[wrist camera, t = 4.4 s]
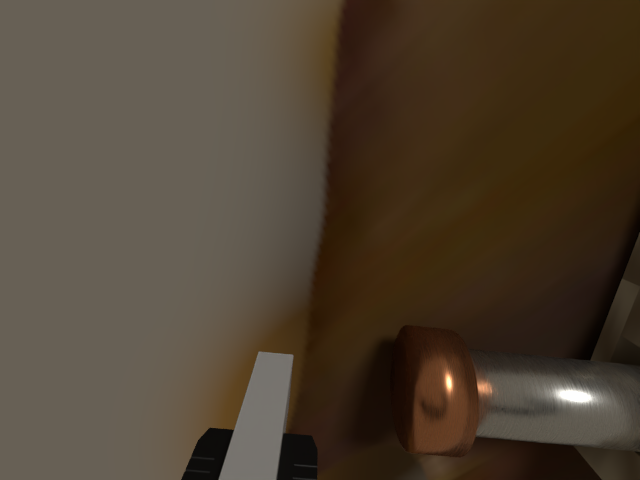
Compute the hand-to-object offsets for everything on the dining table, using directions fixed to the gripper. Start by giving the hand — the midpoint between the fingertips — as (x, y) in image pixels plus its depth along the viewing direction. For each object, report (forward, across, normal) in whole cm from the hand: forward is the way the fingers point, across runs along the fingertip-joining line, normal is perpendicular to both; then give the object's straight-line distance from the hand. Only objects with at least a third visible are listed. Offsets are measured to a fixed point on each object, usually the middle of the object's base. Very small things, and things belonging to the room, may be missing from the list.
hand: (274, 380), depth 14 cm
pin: (+3, +13, 0) cm, 13 cm away
